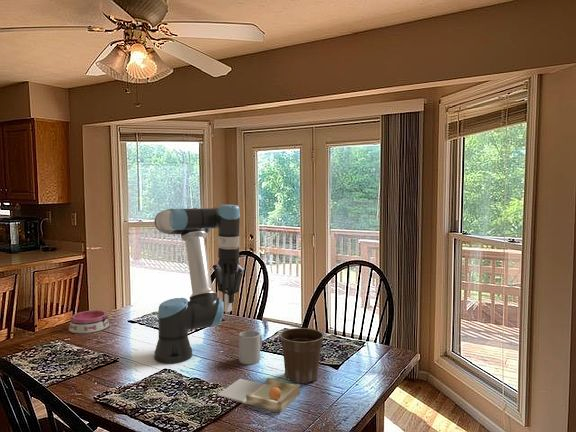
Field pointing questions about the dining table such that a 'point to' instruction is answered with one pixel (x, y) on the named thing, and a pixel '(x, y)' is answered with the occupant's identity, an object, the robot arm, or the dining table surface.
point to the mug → (249, 347)
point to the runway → (249, 391)
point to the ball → (275, 393)
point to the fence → (272, 404)
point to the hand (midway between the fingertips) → (228, 311)
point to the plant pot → (301, 354)
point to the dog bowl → (88, 322)
